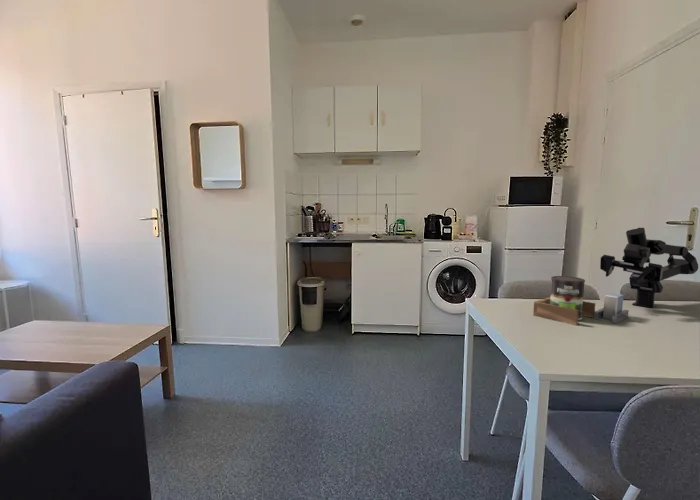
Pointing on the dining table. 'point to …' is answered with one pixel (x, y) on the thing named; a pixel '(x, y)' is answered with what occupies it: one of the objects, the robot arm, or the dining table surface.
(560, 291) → the coffee can
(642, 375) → the dining table surface
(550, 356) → the dining table surface
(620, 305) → the blue block white cap
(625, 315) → the rails
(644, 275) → the robot arm
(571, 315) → the walnut bay
